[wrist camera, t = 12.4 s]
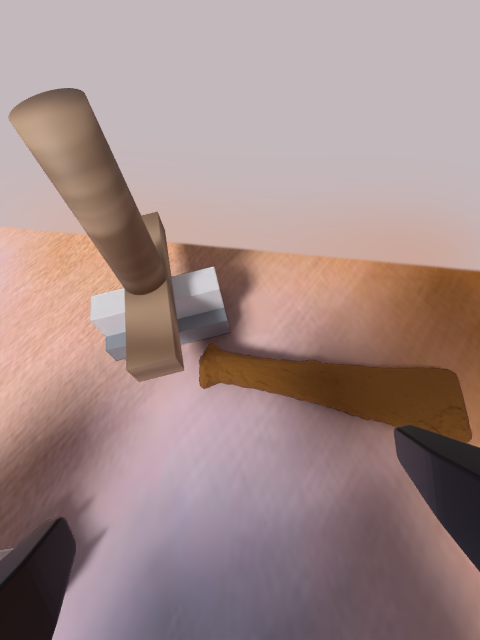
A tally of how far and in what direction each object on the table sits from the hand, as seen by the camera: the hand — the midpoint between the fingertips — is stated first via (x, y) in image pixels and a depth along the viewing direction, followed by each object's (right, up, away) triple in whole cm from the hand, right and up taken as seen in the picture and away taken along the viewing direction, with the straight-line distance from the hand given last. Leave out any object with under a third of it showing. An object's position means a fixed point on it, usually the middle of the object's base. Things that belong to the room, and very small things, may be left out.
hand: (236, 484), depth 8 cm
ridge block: (-6, +4, +19) cm, 21 cm away
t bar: (-7, +6, +16) cm, 18 cm away
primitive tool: (+7, -1, +16) cm, 17 cm away
